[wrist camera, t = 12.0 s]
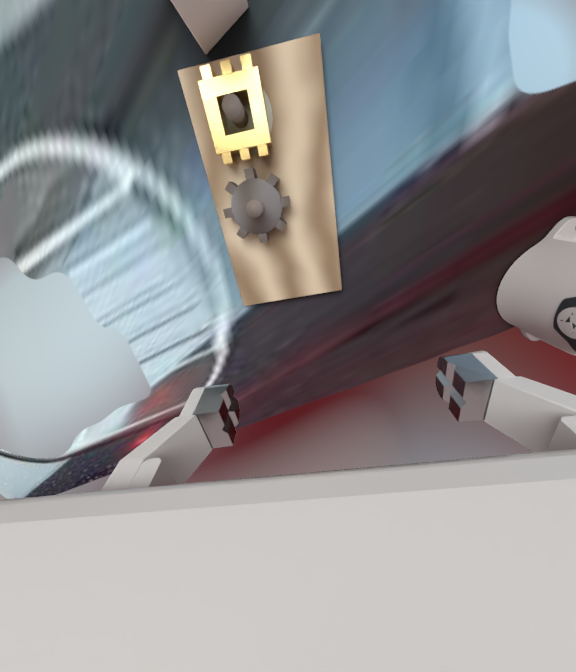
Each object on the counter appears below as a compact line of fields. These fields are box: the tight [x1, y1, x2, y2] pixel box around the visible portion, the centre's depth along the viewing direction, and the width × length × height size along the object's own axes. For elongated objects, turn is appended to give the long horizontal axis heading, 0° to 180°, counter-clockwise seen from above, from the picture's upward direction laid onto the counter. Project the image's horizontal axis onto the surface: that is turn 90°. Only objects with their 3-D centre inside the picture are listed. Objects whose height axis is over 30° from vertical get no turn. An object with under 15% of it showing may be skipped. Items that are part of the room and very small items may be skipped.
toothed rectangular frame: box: [198, 54, 273, 166], centre depth 28 cm, size 6×8×3 cm
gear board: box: [178, 33, 342, 306], centre depth 32 cm, size 15×27×6 cm, turn 10°
